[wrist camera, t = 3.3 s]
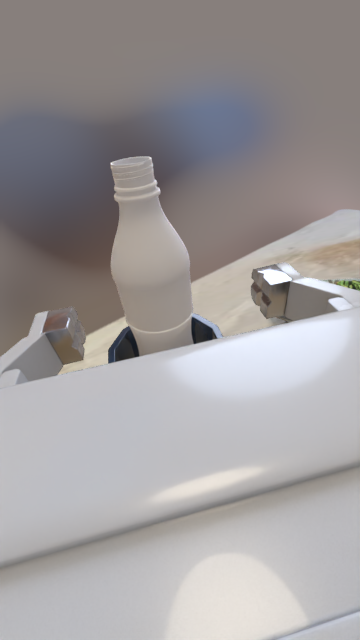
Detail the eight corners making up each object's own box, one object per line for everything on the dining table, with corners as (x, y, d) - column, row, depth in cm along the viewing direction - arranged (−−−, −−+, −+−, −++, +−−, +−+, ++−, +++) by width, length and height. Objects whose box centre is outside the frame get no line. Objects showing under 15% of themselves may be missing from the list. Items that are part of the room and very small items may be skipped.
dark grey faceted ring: (122, 443, 29) (107, 413, 25) (119, 354, 39) (108, 323, 36) (242, 413, 30) (244, 380, 26) (208, 335, 41) (206, 303, 37)
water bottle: (134, 383, 35) (61, 169, 19) (172, 351, 39) (137, 150, 23) (173, 415, 31) (121, 176, 15) (211, 376, 35) (201, 151, 19)
